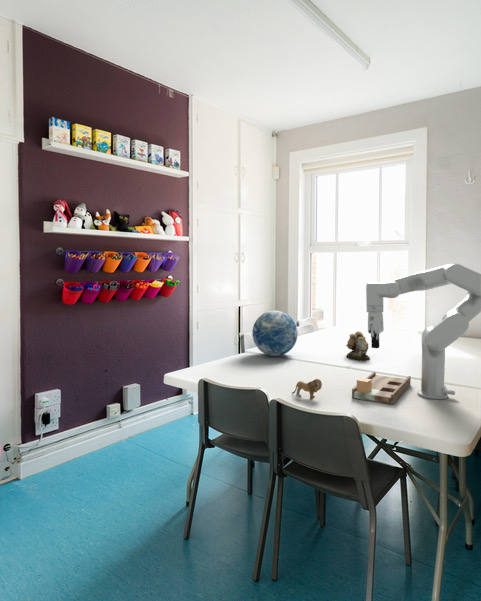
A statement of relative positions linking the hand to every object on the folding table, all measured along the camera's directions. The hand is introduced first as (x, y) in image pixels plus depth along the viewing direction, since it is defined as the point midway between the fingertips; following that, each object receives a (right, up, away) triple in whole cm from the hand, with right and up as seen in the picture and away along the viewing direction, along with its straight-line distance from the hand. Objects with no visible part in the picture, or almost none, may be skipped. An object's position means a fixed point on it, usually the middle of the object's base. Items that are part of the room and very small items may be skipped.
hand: (375, 347), depth 204 cm
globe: (-40, -15, +84) cm, 94 cm away
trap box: (+4, -21, +1) cm, 21 cm away
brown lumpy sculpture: (+11, -15, +74) cm, 76 cm away
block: (-7, -19, -7) cm, 21 cm away
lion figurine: (-32, -22, -4) cm, 39 cm away
